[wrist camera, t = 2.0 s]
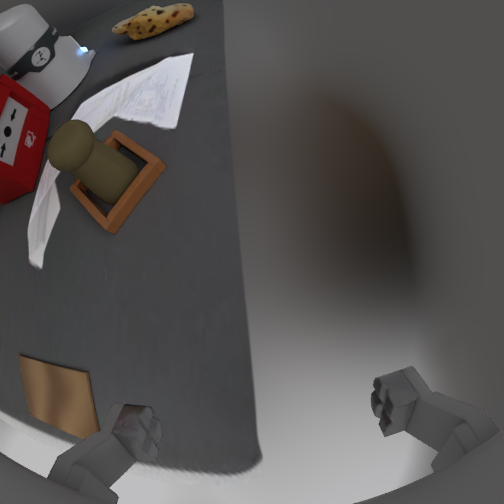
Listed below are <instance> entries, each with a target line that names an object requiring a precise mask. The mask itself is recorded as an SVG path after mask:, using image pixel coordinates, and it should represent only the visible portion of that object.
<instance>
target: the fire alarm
mask: <svg viewBox="0 0 504 504" xmlns="http://www.w3.org/2000/svg"><path fill="white" fill-rule="evenodd" d="M50 110H51V109H50V108H49V107H48V106H47V105H46V104H45V103H44V102H42V101H41V100H40V99H39V98H37V97H36V96H35V95H34V94H32V93H31V92H30V91H28V90H27V89H25V88H24V87H23V86H21V85H20V84H19V83H17V82H16V81H14V80H13V79H11V78H9V77H8V76H6V75H4V74H2V75H1V76H0V204H4V205H5V204H6V203H8V202H10V201H12V200H14V199H15V198H17V197H19V196H21V195H23V194H25V193H27V192H32V191H34V187H35V183H36V180H37V176H38V173H39V169H40V165H41V160H42V156H43V151H44V146H45V141H46V136H47V131H48V125H49V116H50Z"/></svg>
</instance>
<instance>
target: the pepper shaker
mask: <svg viewBox="0 0 504 504" xmlns="http://www.w3.org/2000/svg"><path fill="white" fill-rule="evenodd" d="M47 156H48V159H49V162H50V164H51V165H52V166H53V167H54V168H56V169H57V170H59V171H63V172H71V173H72V174H73V175H74V176H76V177H77V178H78V179H79V180H80V181H81V182H82V183H83V184H84V185H85V186H86V187H88V188H89V189H90V190H91V191H92V192H93V193H94V194H95V195H96V196H98V197H99V198H100V199H101V200H102V201H103V202H105V203H106V204H111V205H114V204H116V203H117V202H118V200H119V199H120V198H121V196H122V195H123V194H124V192H125V191H126V190H127V188H128V187H129V186H130V184H131V183H132V182H133V181H134V179H135V178H136V177H137V175H138V174H139V171H138V167H137V165H136V164H135V162H134V161H132V160H130V159H129V158H127V157H126V156H124V155H122V154H121V153H119V152H117V151H116V150H114V149H112V148H111V147H109V146H107V145H106V144H104V143H102V142H101V141H99V140H97V139H96V138H94V133H93V131H92V129H91V128H90V126H89V125H88V124H87V123H85V122H83V121H81V120H70V121H68V122H66V123H64V124H63V125H62V126H61V127H59V129H58V130H57V131H56V132H55V133H54V135H53V136H52V138H51V140H50V142H49V146H48V149H47Z"/></svg>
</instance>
